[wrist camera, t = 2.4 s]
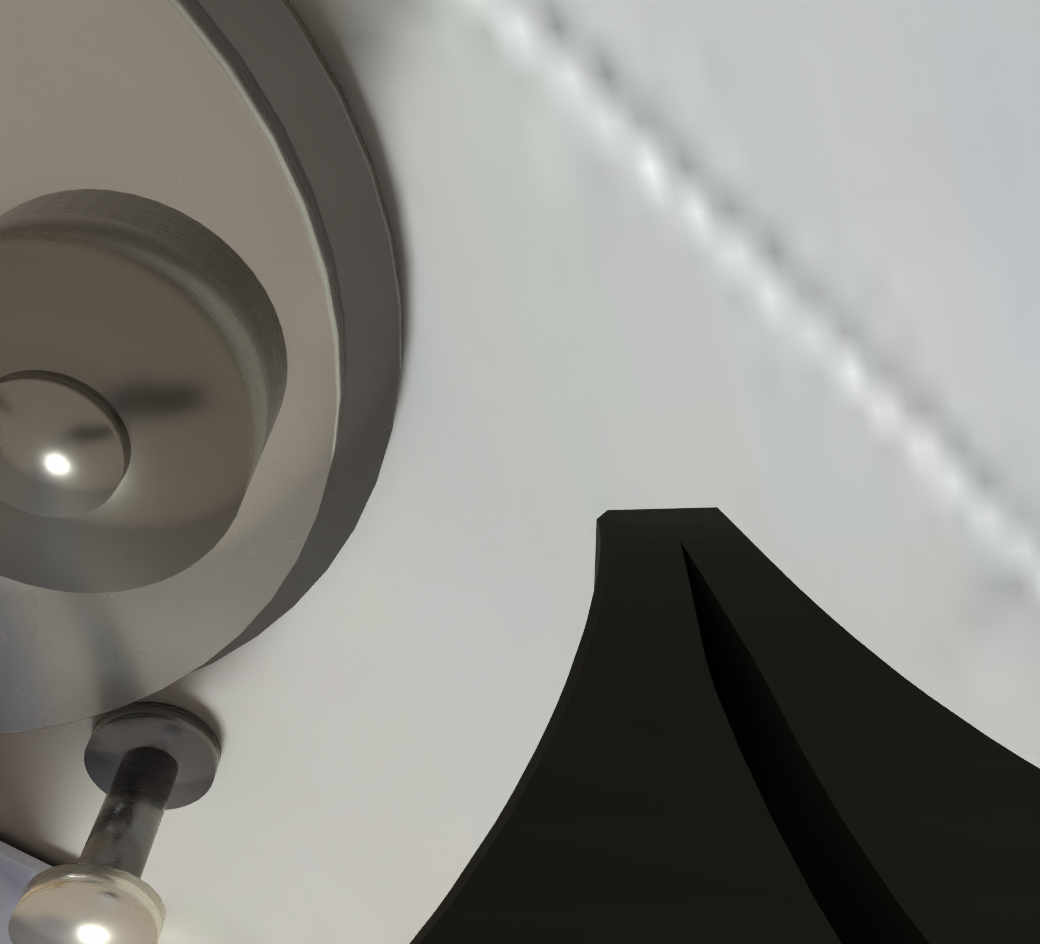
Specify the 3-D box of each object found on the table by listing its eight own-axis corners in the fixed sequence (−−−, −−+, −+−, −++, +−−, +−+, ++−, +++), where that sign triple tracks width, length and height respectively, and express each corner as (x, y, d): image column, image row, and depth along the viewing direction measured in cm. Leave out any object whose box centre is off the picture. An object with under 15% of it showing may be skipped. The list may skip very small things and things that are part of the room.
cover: (168, 539, 19) (105, 665, 16) (-107, 356, 17) (-242, 459, 14) (352, 346, 17) (322, 446, 14) (67, 111, 15) (-44, 166, 12)
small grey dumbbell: (173, 808, 26) (107, 1001, 21) (68, 751, 25) (-27, 942, 20) (245, 745, 25) (191, 934, 20) (138, 682, 24) (55, 867, 19)
